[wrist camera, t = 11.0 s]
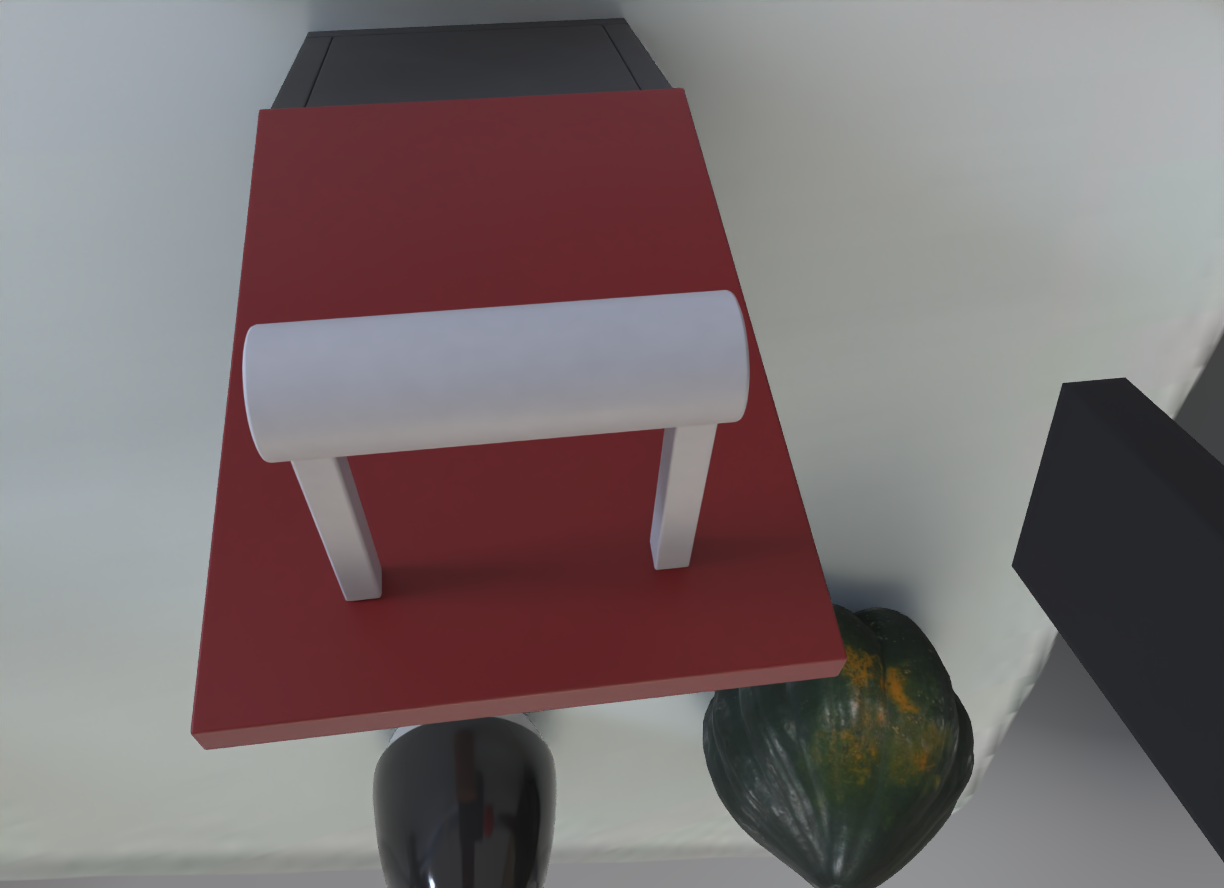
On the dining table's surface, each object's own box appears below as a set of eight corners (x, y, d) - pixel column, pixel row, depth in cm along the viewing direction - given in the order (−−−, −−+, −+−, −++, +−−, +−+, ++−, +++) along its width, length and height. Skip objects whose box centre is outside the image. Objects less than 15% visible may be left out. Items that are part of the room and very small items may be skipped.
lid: (838, 677, 20) (970, 440, 13) (203, 751, 18) (8, 530, 12) (681, 113, 30) (712, -175, 23) (266, 135, 29) (179, -163, 22)
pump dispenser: (340, 744, 60) (313, 1005, 47) (448, 640, 56) (449, 892, 44) (476, 802, 64) (484, 1053, 52) (583, 709, 61) (620, 954, 48)
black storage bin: (626, 392, 48) (668, 537, 39) (374, 413, 47) (358, 567, 38) (624, 17, 39) (679, 95, 30) (307, 31, 38) (264, 117, 29)
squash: (1046, 655, 55) (972, 833, 44) (931, 816, 64) (844, 1000, 52) (820, 522, 60) (701, 651, 49) (741, 687, 68) (623, 831, 57)
